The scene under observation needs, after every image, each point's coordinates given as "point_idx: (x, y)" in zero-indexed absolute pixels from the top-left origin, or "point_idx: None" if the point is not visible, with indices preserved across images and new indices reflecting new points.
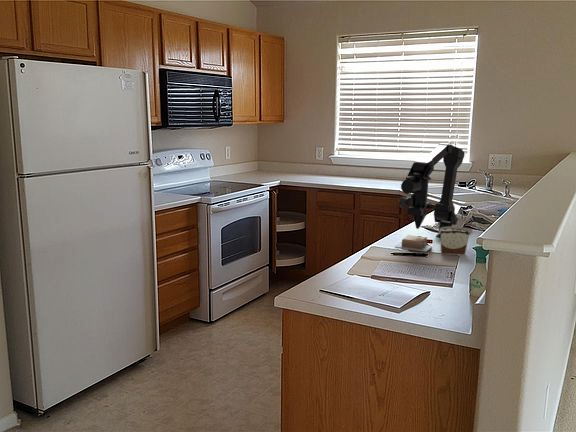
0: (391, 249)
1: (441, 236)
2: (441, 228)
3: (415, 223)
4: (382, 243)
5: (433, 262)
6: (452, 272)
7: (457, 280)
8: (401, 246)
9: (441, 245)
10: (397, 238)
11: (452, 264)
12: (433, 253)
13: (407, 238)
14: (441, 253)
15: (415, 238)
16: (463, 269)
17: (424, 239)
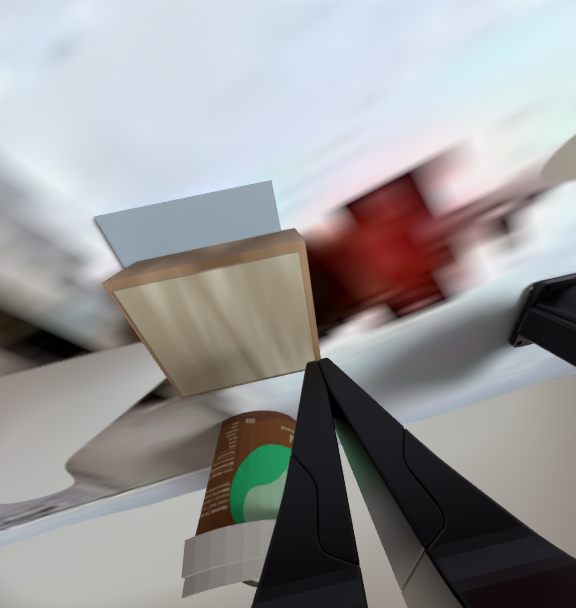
0: (18, 227)
1: (202, 524)
2: (238, 573)
3: (299, 416)
4: (82, 12)
5: (83, 454)
6: (56, 508)
7: (8, 534)
8: (144, 256)
9: (214, 463)
10: (397, 59)
11: (134, 480)
12: (204, 405)
13: (169, 305)
14: (222, 424)
15: (228, 343)
16: (120, 505)
17: (268, 376)
